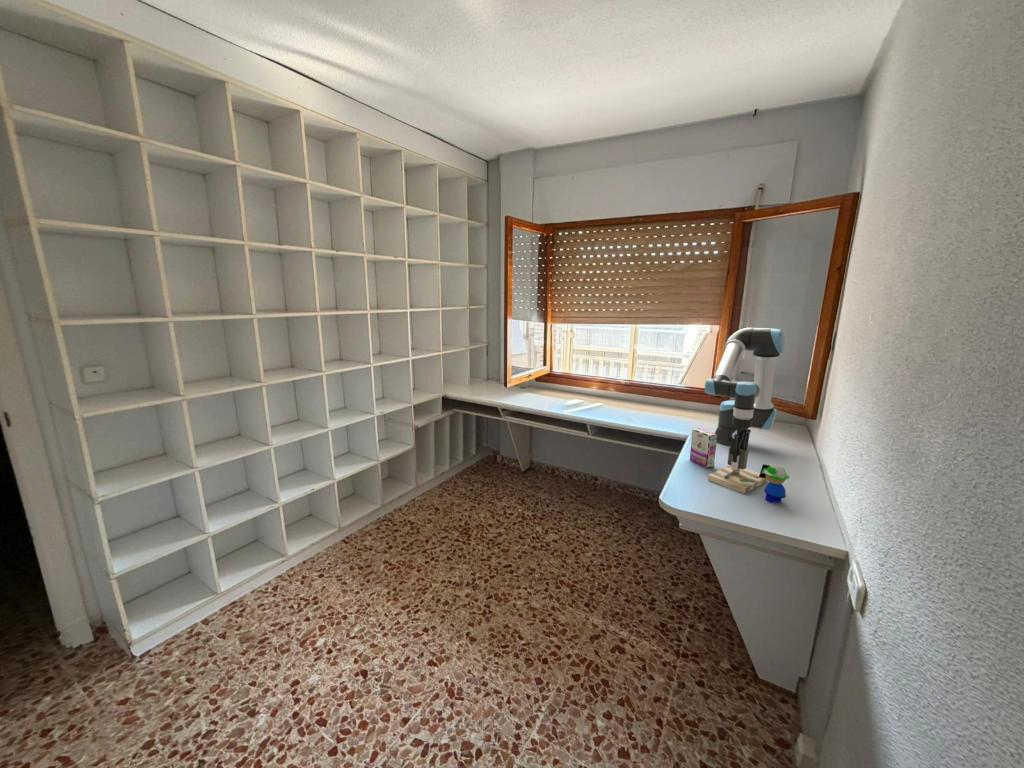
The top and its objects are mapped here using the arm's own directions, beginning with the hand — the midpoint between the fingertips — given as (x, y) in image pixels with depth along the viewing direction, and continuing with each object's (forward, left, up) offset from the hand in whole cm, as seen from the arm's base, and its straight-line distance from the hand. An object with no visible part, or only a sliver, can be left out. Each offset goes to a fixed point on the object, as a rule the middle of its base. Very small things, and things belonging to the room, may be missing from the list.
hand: (736, 467), depth 184 cm
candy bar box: (-3, -18, -5) cm, 19 cm away
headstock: (+2, +2, -5) cm, 6 cm away
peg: (+4, 0, -2) cm, 5 cm away
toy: (+8, +19, -5) cm, 21 cm away
